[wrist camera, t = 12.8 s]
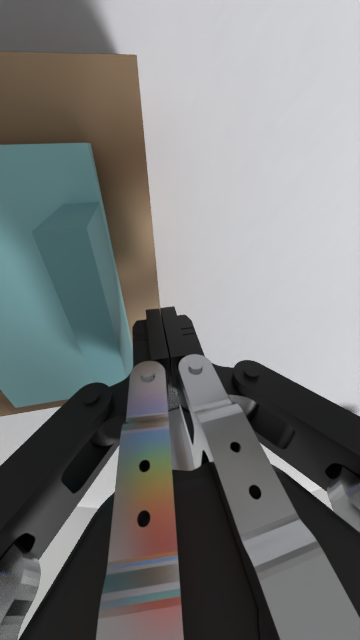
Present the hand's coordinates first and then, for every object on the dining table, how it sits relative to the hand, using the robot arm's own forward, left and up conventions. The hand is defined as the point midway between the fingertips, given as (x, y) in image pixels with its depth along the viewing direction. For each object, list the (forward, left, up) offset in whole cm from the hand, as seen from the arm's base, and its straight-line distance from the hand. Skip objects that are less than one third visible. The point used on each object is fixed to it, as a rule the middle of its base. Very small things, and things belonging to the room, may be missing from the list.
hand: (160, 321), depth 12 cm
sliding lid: (0, +7, -3) cm, 7 cm away
